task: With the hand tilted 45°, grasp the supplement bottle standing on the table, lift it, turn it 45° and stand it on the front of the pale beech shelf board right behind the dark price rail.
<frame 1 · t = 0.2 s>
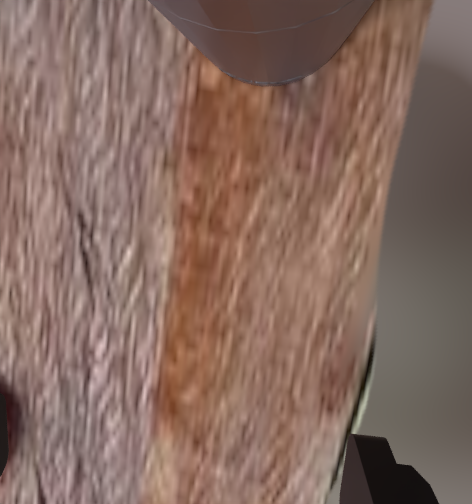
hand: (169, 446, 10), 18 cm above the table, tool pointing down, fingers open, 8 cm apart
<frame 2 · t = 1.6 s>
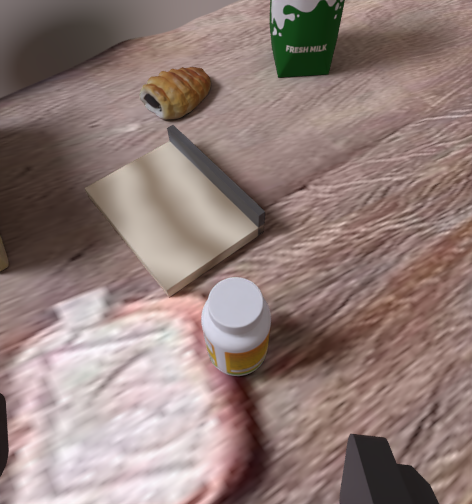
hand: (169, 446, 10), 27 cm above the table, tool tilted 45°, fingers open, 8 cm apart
shelf board: (173, 213, 46), on the table
milk carton: (299, 61, 61), on the table
supplement bottle: (237, 347, 39), on the table
pastry: (175, 102, 57), on the table
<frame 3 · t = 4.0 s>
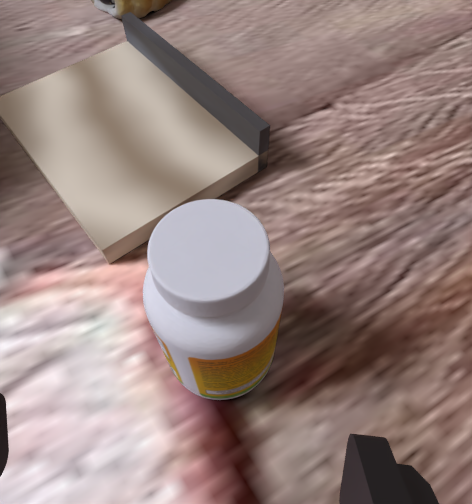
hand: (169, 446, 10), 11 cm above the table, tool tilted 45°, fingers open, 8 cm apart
shelf board: (127, 140, 30), on the table
supplement bottle: (221, 349, 22), on the table
pastry: (138, 1, 40), on the table
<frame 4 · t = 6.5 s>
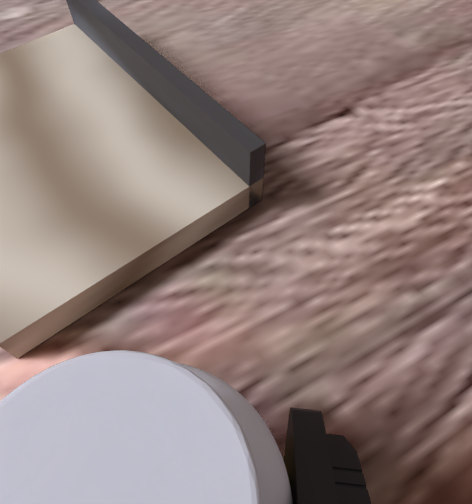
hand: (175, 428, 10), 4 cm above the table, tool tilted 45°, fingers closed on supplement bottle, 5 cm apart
shelf board: (65, 161, 21), on the table
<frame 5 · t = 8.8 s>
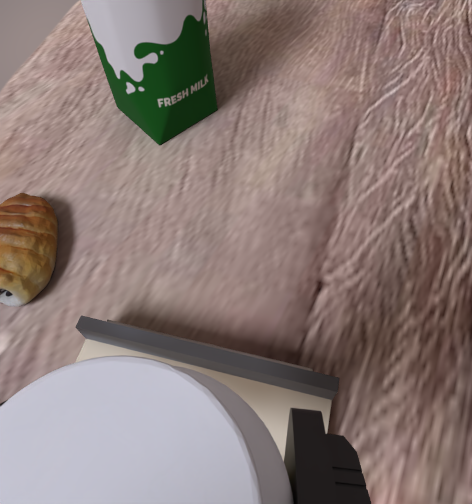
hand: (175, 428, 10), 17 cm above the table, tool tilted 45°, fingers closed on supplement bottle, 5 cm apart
shelf board: (180, 459, 25), on the table
milk carton: (167, 110, 42), on the table
pastry: (17, 263, 33), on the table
when the fingers open (7 cm above the table, at t = 11.2 s): supplement bottle drops 1 cm, resting on shelf board.
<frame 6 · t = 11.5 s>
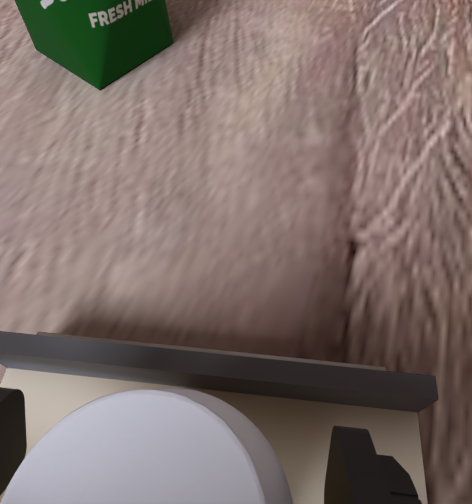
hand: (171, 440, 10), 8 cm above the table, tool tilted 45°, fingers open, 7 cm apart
milk carton: (105, 49, 31), on the table
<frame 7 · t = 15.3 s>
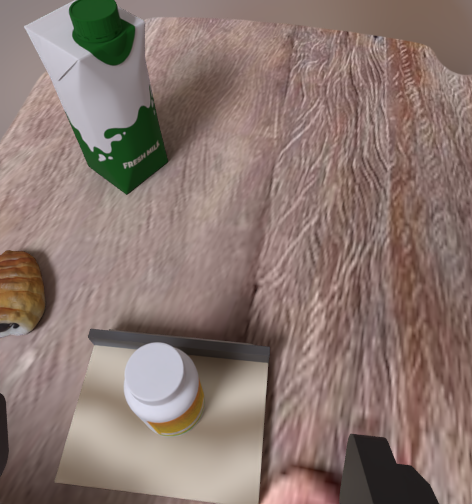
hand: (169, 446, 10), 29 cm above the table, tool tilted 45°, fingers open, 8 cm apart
shelf board: (171, 417, 37), on the table
milk carton: (128, 165, 54), on the table
supplement bottle: (174, 404, 37), point 1 cm above the table, touching shelf board
pastry: (14, 304, 44), on the table
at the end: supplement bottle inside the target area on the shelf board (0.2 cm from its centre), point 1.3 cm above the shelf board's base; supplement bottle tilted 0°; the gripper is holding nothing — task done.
